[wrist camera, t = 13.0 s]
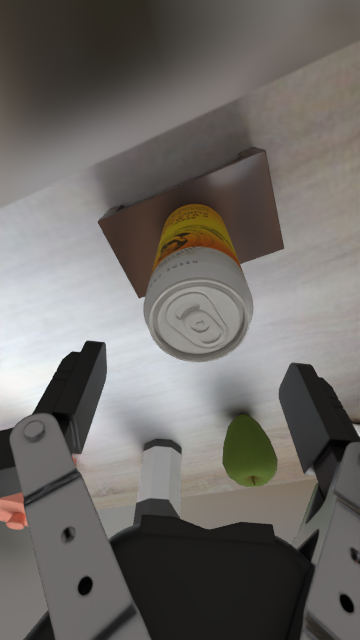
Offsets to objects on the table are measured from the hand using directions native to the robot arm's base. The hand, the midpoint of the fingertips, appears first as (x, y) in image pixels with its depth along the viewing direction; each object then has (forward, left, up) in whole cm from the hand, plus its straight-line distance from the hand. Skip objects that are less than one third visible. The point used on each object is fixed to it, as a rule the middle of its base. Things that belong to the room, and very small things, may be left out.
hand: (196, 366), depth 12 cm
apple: (+34, +14, -23) cm, 43 cm away
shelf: (0, 0, -23) cm, 23 cm away
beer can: (0, 0, -18) cm, 18 cm away
